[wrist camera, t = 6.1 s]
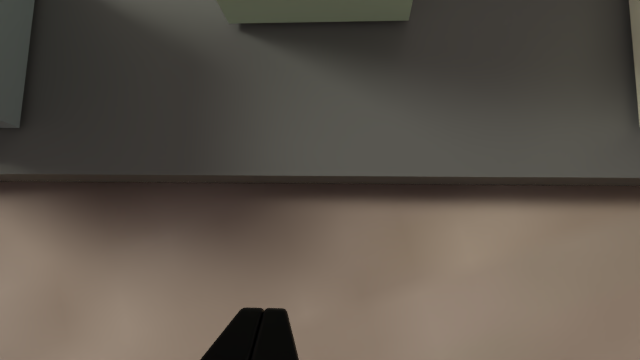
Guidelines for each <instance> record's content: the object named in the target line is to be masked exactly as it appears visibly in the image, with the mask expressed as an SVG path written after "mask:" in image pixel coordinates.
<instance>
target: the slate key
mask: <svg viewBox="0 0 640 360" xmlns="http://www.w3.org/2000/svg"><path fill="white" fill-rule="evenodd" d="M34 2H35V0H0V128H19V127H20V118H21V110H22V102H23V93H24V85H25V77H26V68H27V60H28V52H29V43H30V35H31V27H32V18H33V10H34Z"/></svg>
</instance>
